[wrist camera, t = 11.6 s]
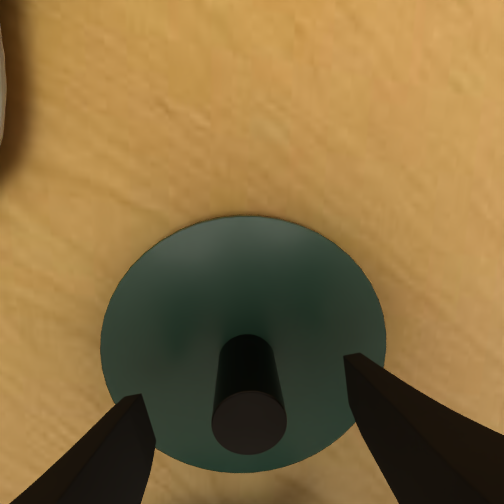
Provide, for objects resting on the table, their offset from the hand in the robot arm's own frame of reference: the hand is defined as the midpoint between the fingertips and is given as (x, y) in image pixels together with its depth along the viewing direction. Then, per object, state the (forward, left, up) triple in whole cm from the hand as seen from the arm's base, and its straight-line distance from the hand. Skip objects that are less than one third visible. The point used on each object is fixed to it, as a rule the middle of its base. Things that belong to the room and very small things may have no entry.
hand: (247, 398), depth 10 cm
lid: (0, 0, -3) cm, 3 cm away
